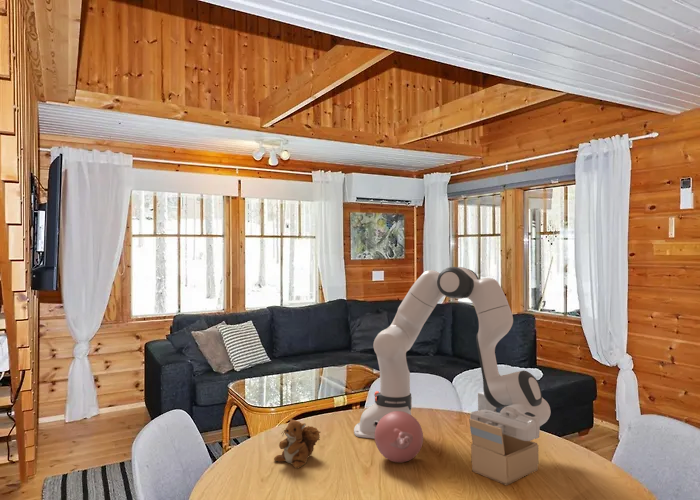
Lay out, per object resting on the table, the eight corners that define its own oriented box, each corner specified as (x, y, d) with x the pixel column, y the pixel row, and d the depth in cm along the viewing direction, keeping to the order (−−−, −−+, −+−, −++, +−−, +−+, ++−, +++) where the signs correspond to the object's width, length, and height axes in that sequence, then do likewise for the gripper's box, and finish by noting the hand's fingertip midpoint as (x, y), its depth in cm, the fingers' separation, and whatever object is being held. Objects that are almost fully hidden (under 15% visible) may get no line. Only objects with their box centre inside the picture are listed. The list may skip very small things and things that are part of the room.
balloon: (374, 477, 148) (373, 424, 149) (375, 450, 168) (374, 404, 168) (426, 478, 147) (426, 425, 147) (421, 451, 167) (421, 405, 167)
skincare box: (486, 427, 190) (486, 395, 190) (477, 424, 194) (477, 392, 194) (497, 424, 193) (497, 392, 193) (488, 421, 197) (488, 390, 197)
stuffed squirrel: (271, 462, 160) (271, 420, 160) (304, 449, 170) (303, 410, 170) (292, 471, 153) (292, 427, 153) (325, 457, 163) (324, 416, 164)
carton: (503, 456, 162) (503, 431, 163) (540, 470, 152) (540, 443, 152) (470, 470, 152) (470, 444, 152) (508, 486, 142) (507, 457, 142)
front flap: (470, 418, 151) (468, 419, 150) (501, 428, 142) (500, 429, 142) (473, 442, 152) (472, 443, 151) (504, 454, 143) (503, 455, 143)
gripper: (485, 402, 163) (458, 410, 155) (543, 418, 147) (516, 428, 139) (485, 421, 163) (458, 431, 155) (544, 439, 147) (517, 451, 139)
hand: (486, 430), depth 147 cm, fingers closed, pressing on front flap
